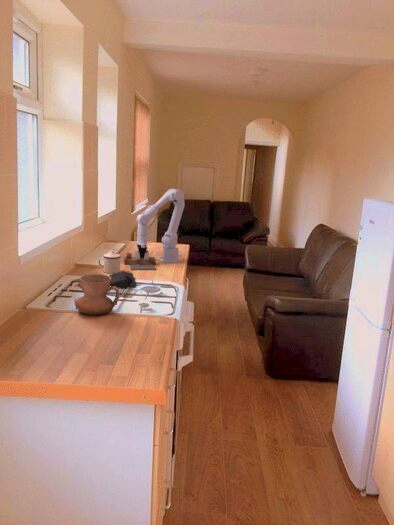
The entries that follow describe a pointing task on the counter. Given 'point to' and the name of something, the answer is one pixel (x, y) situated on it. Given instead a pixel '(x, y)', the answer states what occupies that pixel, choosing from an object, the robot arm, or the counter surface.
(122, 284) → the dark slate chunk
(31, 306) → the counter surface
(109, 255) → the teacup with lid
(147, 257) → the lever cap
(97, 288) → the ceramic jug
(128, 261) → the body
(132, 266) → the rubber mat
